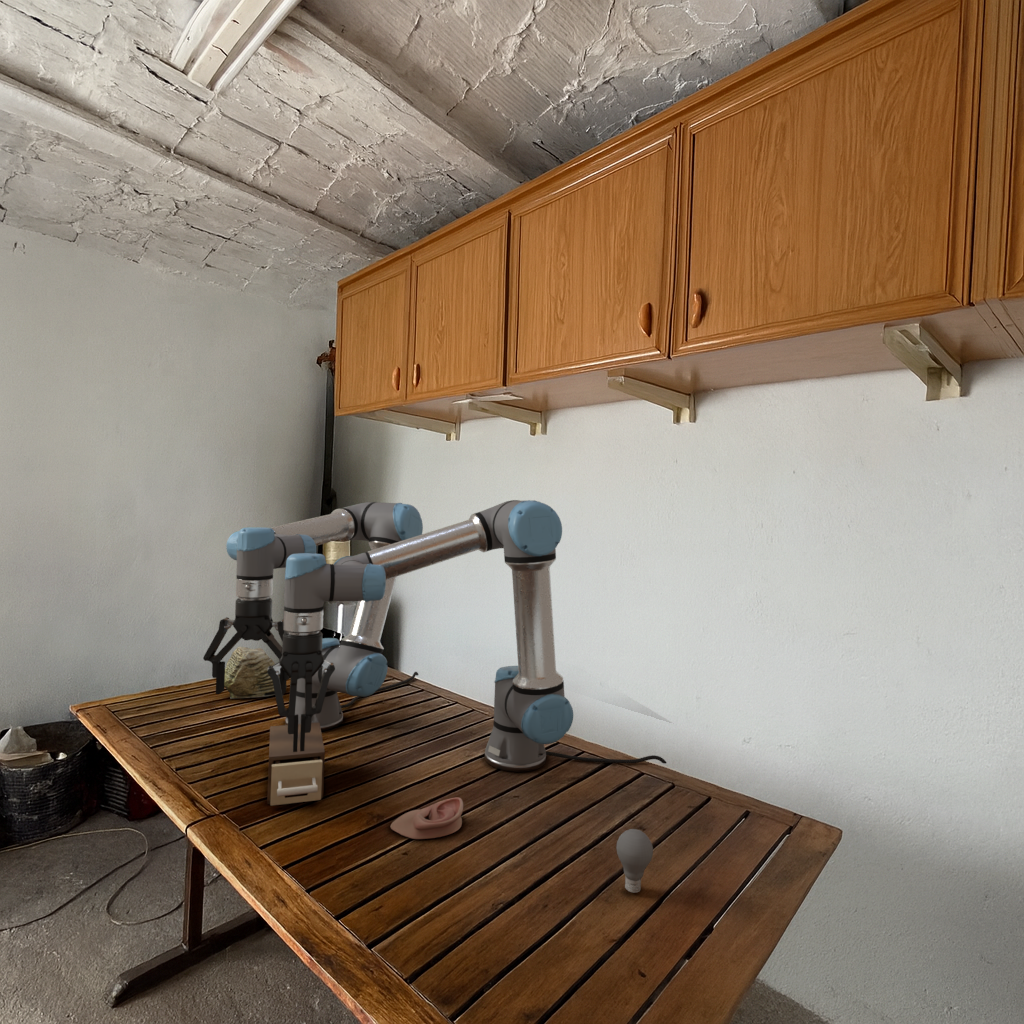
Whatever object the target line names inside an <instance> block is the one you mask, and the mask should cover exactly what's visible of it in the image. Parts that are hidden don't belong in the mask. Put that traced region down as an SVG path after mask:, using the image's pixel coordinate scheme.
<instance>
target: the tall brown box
mask: <svg viewBox="0 0 1024 1024" xmlns="http://www.w3.org/2000/svg"><path fill="white" fill-rule="evenodd" d="M300 732H301V724H298V745H297V752H293V734H288V725H286V724H283V725H281V724H280V725H271V726H269V744H268V745H269V747H268V748H269V749H268V772H267V773H268V775H267V776H268V777H267V798H266V799H267V800H266V801H267V802H266V804H267V805H270V802H271V775H272V764H275V760H285V759H296V758H306V757H317V756H318V760H322V788H321V799H323V798H324V787H325V786H324V784H325V783H324V781H325V780H324V779H325V756H326V755H325V754H326V750H325V745H324V739H323V733H322V731H321V727H320V723H311V731H310V733H305V747H304V751H300Z"/></svg>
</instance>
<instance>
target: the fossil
mask: <svg viewBox="0 0 1024 1024" xmlns="http://www.w3.org/2000/svg"><path fill="white" fill-rule="evenodd" d="M275 664H276V663H275V662H274V660H273V659H272V658H271V657H270V656H269V655H268V654H267V653H266V652H265V650H264V649H263V648H260V647H258V648H251V647H247V646H246V647H245V646H238V647H237V648H236V649H235V650H233V651H232V653H231V656H230V657H229V659H228V660H227V663H226V664H225V683H224V689H225V690H226V691H228V693H229V698H230V699H250V698H264V697H271V696H275V692H274V686H273V681H272V679H271V678H270V676H269V675H268V673H267V670H268V667H269V666H273V665H275ZM287 687H288V686H287V684H286V688H287Z"/></svg>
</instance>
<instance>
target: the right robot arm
mask: <svg viewBox="0 0 1024 1024" xmlns="http://www.w3.org/2000/svg"><path fill="white" fill-rule="evenodd" d="M562 537H563V525H562V521H561V518H560V516H559V515H558V513H557V512H556V511H555V509H553V508H552V507H551V506H550V505H548V504H546V503H544V502H541V501H538V500H535V499H534V500H531V499H528V500H519V499H512V500H507V501H504V502H501V503H498V504H496V505H494V506H491V507H489V508H486V509H484V510H481V511H478V512H475V513H472V514H471V515H470V516H469V518H468V519H466V520H464V521H463V520H462V521H461V522H457V523H454V524H451V525H448V526H444V527H441V528H438V529H434V530H431V531H428V532H425V533H422V535H419V536H415V537H412V538H409V539H406V540H403V541H399V542H396V543H393V544H390V545H387V546H383V547H380V548H377V549H374V550H368V551H365V552H362V553H358V554H355V555H345V556H341V557H340V558H338V559H337V560H336V561H334V563H327V560H326V556H325V555H324V554H322V553H316V554H312V553H298V554H292V555H290V556H289V557H288V558H287V560H286V568H285V572H284V593H283V594H284V596H283V598H284V600H283V619H284V620H283V630H285V631H286V632H285V633H284V634H283V642H282V645H281V646H282V656H281V657H280V659H279V658H278V660H279V661H278V662H276V663H275V665H273V666H269V667H268V670H267V673H268V675H269V676H270V678H271V679H272V681H273V686H274V692H275V695H274V696H275V701H276V707H277V713H278V715H279V717H284V718H286V717H287V718H288V734H293V752H297V745H298V715H295V706H296V692H297V680H298V679H300V678H304V679H305V714H301V732H300V751H304V747H305V733H310V731H311V718H312V716H313V715H314V714H319V713H320V712H321V710H322V706H323V702H324V698H325V694H326V690H327V686H328V682H329V679H330V676H331V675H332V673H333V672H334V670H335V666H334V664H333V663H329V662H327V661H325V660H324V656H323V655H322V639H323V635H324V633H323V632H322V631H321V630H323V628H324V609H325V608H324V603H325V602H358V601H365V602H368V601H375V600H381V599H382V598H383V597H384V594H385V587H386V580H388V579H391V578H394V577H396V578H397V577H400V576H404V575H407V574H409V573H412V572H415V571H418V570H421V569H423V568H427V567H430V566H433V565H436V564H439V563H443V562H445V561H449V560H451V559H454V558H459V557H461V556H463V555H464V556H465V555H467V554H470V553H473V552H476V551H480V552H481V553H487V552H490V551H493V550H500V549H503V557H504V564H506V566H508V567H509V568H510V570H511V577H512V590H513V591H512V592H513V593H512V594H513V606H514V607H513V608H514V622H515V623H514V625H515V637H516V653H517V665H508V666H507V665H506V666H501V667H499V668H498V669H497V670H496V672H495V679H494V700H493V701H494V703H493V727H492V730H491V733H490V735H489V737H488V741H487V743H486V746H485V749H484V760H485V762H486V764H488V765H489V766H491V767H492V768H495V769H498V770H501V771H505V772H506V771H507V772H513V773H515V772H516V773H523V772H531V771H535V770H538V769H540V768H542V767H543V766H544V765H545V764H546V762H547V756H550V757H555V758H562V759H566V760H572V761H579V762H587V763H588V762H589V763H603V764H604V763H605V764H638V763H643V762H646V761H650V760H651V761H652V760H657V761H659V762H660V763H662V764H667V761H666V759H664V758H663V757H662V756H659V755H653V754H652V755H646V756H643V757H639V758H635V759H633V758H632V759H619V758H617V759H616V758H615V759H614V758H600V757H599V758H598V757H584V756H576V755H570V754H566V753H560V752H553V751H547V750H546V746H545V745H550V744H555V743H556V742H559V741H560V740H561V739H563V738H564V737H565V735H566V734H567V732H569V731H570V729H571V727H572V725H573V721H574V709H573V706H572V703H571V702H570V701H569V699H568V698H567V697H566V696H565V695H566V694H565V682H564V681H565V680H564V676H563V675H562V674H561V673H560V672H559V671H557V663H556V662H557V661H556V660H557V659H556V645H555V630H554V629H555V628H554V615H553V613H554V612H553V599H552V598H553V597H552V583H551V582H552V581H551V566H552V565H553V564H554V563H555V562H556V560H557V551H556V550H557V549H556V548H557V547H558V545H559V544H560V542H561V539H562ZM321 665H322V666H323V668H322V671H323V675H322V679H321V683H320V687H319V691H318V695H317V699H316V702H315V706H313V707H312V677H313V676H314V675H315V673H316V672H317V671H318V669H319V668H320V667H321ZM281 667H282V668H283V670H284V671H285V672H286V673H287V675H288V676H289V677H290V679H289V680H290V683H289V694H288V695H289V696H288V707H286V705H285V700H284V695H282V689H281V684H280V679H279V675H280V668H281Z"/></svg>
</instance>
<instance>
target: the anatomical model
mask: <svg viewBox="0 0 1024 1024" xmlns="http://www.w3.org/2000/svg"><path fill="white" fill-rule="evenodd" d="M463 812H464V801H463V799H462V797H450V798H446V799H443V800H440V801H438V802H435V803H433V804H430V805H428V806H426V807H424V808H421V809H413V810H410V811H408V812H405V813H404V814H402V815H400V816H398V817H397V818H395V819H394V820H393V821H392V822H391V824H390V829H391V830H392V831H394V832H395V833H397V834H399V835H401V836H403V837H405V838H409V839H412V840H425V839H427V840H428V839H435V838H441V837H445V836H448V835H452V834H453V833H456V832H457V831H459V830H460V829H461V827H462V825H463V819H462V814H463Z"/></svg>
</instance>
